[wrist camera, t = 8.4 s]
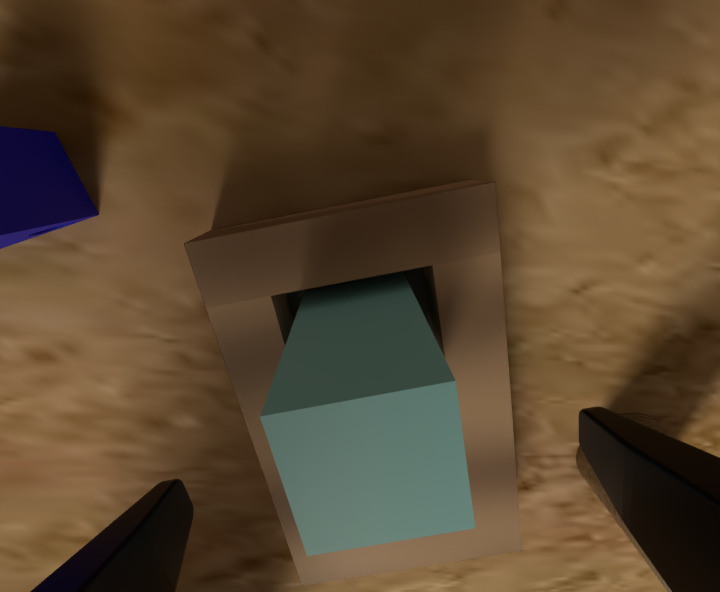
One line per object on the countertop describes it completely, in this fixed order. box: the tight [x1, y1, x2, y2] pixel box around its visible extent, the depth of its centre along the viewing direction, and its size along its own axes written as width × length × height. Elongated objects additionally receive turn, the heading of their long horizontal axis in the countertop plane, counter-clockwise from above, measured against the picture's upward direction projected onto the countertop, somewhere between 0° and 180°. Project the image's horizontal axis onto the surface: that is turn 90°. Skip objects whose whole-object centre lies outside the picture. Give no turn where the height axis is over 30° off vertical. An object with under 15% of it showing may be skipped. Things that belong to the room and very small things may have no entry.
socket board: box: [184, 179, 522, 586], centre depth 16 cm, size 16×10×2 cm, turn 11°
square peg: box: [260, 272, 475, 556], centre depth 12 cm, size 4×4×8 cm
